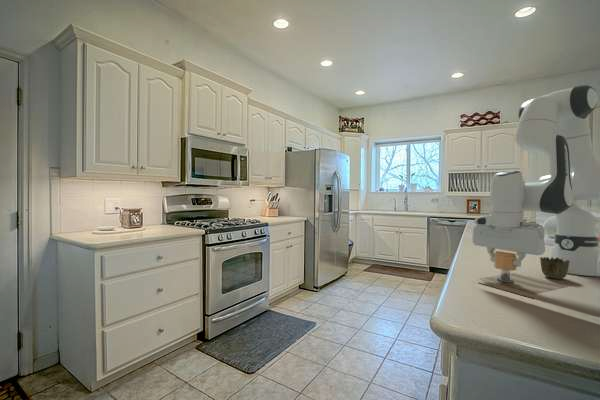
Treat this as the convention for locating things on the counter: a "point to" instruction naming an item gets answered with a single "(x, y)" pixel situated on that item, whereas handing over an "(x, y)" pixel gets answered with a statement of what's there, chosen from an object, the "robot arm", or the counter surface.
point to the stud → (505, 277)
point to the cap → (504, 260)
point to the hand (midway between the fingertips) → (505, 263)
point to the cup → (554, 267)
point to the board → (526, 284)
